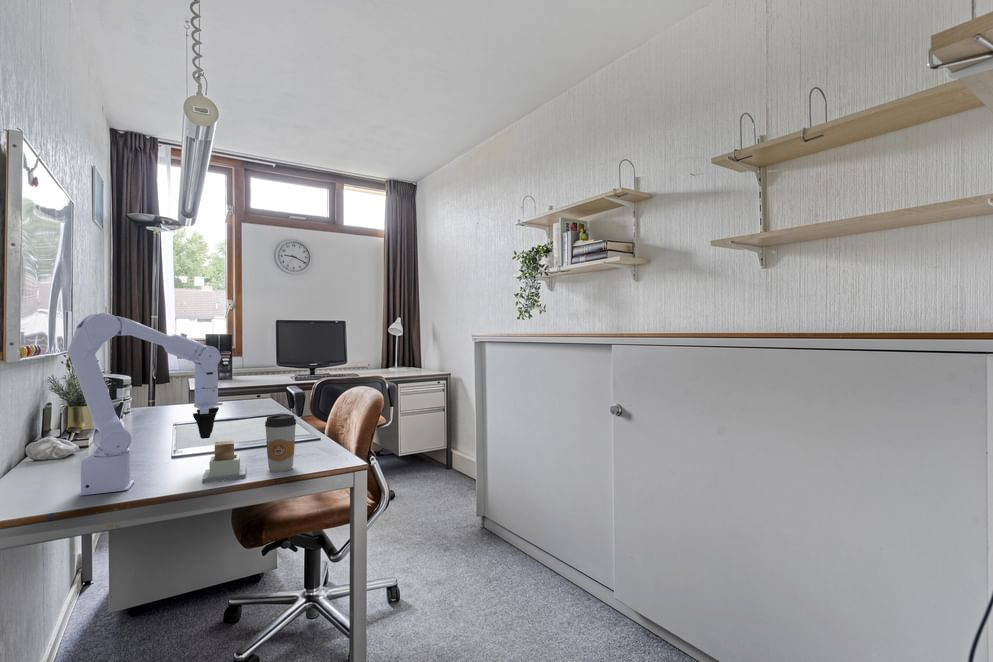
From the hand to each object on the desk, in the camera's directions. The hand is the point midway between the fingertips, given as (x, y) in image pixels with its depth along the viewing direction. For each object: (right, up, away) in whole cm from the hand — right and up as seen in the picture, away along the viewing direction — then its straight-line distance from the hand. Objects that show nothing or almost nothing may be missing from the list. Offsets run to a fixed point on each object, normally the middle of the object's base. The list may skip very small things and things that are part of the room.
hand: (206, 435), depth 141 cm
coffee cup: (+21, -10, +1) cm, 23 cm away
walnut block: (+8, -6, -5) cm, 11 cm away
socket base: (+8, -10, -5) cm, 14 cm away
